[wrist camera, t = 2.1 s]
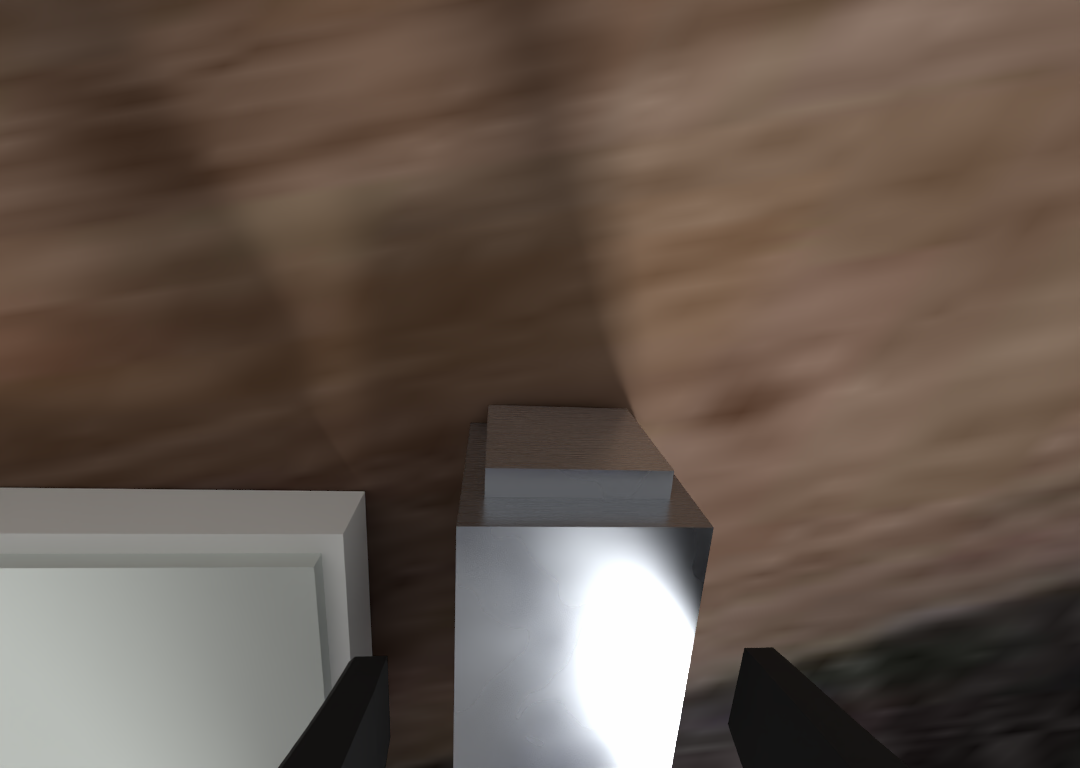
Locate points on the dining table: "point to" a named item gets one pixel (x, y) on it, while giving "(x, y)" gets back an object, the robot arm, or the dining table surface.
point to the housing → (572, 592)
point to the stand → (174, 623)
